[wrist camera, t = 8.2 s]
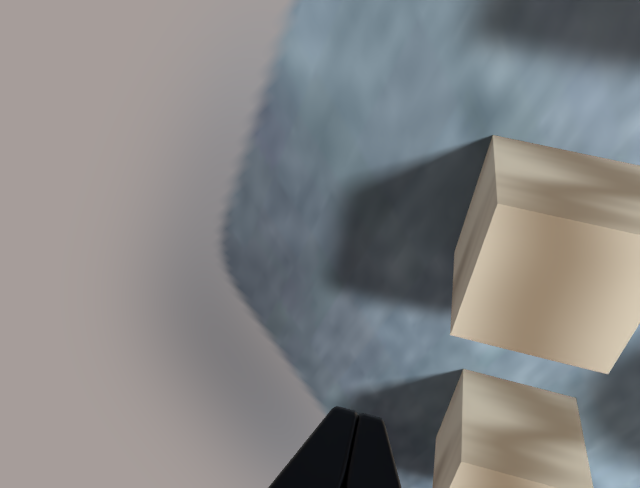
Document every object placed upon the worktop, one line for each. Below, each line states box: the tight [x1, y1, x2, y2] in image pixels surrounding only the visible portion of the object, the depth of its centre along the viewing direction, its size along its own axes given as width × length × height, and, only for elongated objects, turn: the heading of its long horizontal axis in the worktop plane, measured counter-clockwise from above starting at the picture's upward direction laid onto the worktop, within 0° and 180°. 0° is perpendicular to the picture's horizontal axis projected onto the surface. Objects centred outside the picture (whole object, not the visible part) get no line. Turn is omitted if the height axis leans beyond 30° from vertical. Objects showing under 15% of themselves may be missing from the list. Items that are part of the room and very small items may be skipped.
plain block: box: [450, 135, 640, 374], centre depth 19 cm, size 5×5×5 cm
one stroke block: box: [433, 369, 593, 488], centre depth 25 cm, size 5×5×5 cm
